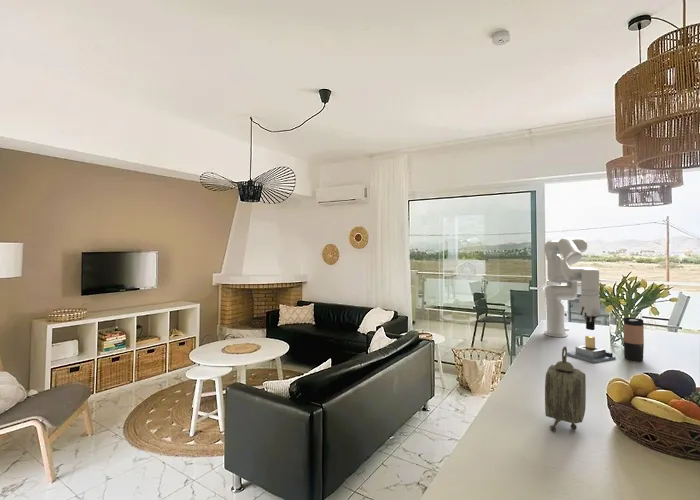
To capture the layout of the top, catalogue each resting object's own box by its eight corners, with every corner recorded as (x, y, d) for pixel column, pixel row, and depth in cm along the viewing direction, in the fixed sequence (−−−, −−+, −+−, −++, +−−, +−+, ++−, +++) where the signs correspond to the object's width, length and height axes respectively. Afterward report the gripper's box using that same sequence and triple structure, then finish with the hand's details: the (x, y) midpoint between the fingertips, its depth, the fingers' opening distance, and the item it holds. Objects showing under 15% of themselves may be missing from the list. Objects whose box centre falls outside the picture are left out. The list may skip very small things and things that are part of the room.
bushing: (589, 353, 178) (588, 335, 178) (597, 355, 175) (596, 337, 175) (583, 354, 177) (583, 336, 177) (591, 356, 173) (591, 338, 173)
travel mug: (636, 357, 174) (636, 317, 174) (647, 362, 167) (647, 320, 167) (620, 357, 175) (619, 317, 175) (630, 362, 168) (630, 320, 167)
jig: (587, 351, 185) (587, 342, 185) (615, 359, 172) (615, 350, 172) (566, 355, 179) (566, 346, 179) (593, 363, 166) (593, 354, 166)
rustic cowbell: (553, 414, 117) (553, 340, 117) (586, 422, 111) (585, 344, 111) (545, 432, 106) (544, 350, 105) (580, 442, 100) (580, 355, 100)
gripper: (592, 291, 182) (592, 326, 182) (572, 293, 176) (572, 329, 176) (607, 293, 175) (607, 329, 175) (587, 294, 169) (587, 332, 169)
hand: (590, 329), depth 176 cm, fingers closed
